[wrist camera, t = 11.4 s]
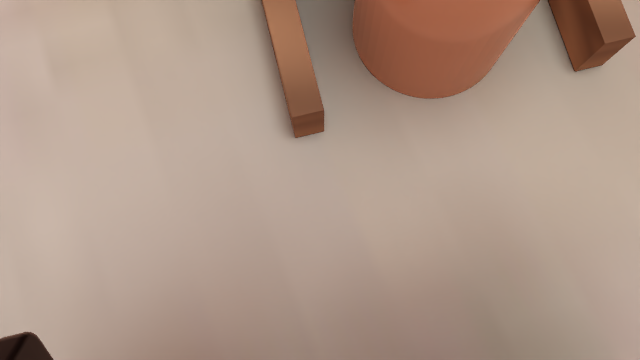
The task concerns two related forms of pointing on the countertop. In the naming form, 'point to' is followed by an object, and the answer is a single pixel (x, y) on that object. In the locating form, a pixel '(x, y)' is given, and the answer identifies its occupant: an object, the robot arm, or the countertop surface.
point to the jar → (435, 41)
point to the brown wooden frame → (566, 3)
